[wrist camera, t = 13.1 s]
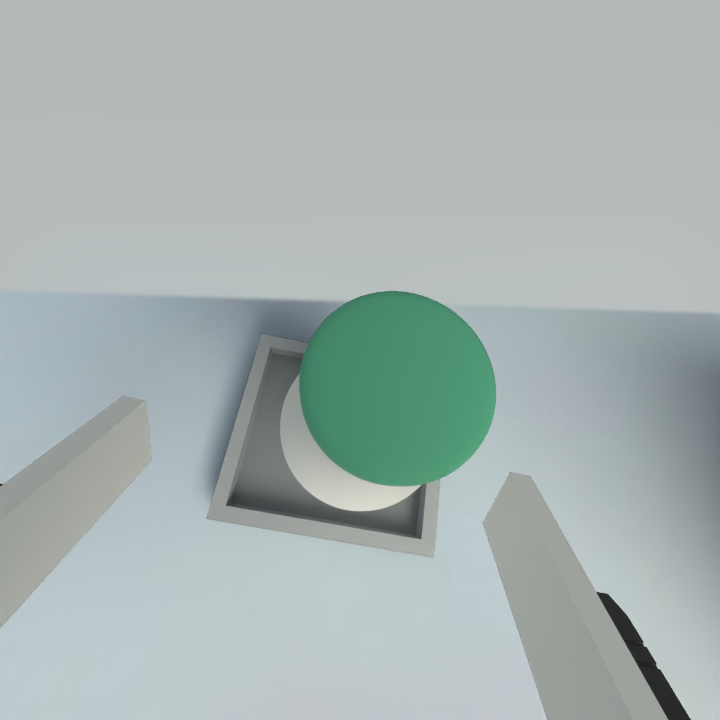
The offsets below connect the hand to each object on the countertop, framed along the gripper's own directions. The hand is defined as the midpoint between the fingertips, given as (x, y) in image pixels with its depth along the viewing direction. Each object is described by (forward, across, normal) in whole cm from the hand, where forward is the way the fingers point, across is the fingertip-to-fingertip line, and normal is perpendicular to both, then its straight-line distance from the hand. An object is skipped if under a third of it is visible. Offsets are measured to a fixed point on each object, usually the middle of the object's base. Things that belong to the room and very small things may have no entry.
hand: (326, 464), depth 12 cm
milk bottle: (+12, +1, -9) cm, 15 cm away
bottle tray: (+12, +1, -9) cm, 15 cm away
